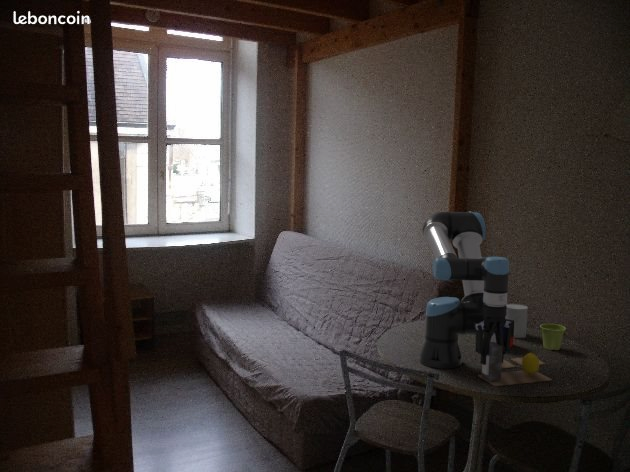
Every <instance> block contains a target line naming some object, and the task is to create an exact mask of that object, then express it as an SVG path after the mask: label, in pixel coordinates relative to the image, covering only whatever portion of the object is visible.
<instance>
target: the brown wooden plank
mask: <svg viewBox="0 0 630 472" xmlns="http://www.w3.org/2000/svg"><path fill="white" fill-rule="evenodd" d="M509 360H510V361H512V362H514V363H515V364H517V365H519V366H521V367H522V360H523V357H513V358H510V359H509ZM538 360H539V366H545V365H547V363H546V362H544V361H542V360H540V359H538ZM480 363H481V360H480ZM513 368H517V366H516V365H514V364H513V363H511V362H509V361H507V360H506V359H504V360H503V363H502V368H501V370H502V369H513Z"/></svg>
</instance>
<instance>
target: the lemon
mask: <svg viewBox="0 0 630 472" xmlns="http://www.w3.org/2000/svg"><path fill="white" fill-rule="evenodd" d="M522 358H523V360H522V366H521V367H522V370H524V372H526V373H527V374H528V375H529V376H531V375H532V374H535V373H536V372H539V368H540V365H539V360H540V359H539V358H538V356H536V354H535V353H533V352H529V353H526V354H525V355H524V356H523V357H522Z"/></svg>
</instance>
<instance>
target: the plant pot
mask: <svg viewBox="0 0 630 472" xmlns="http://www.w3.org/2000/svg"><path fill="white" fill-rule="evenodd" d="M539 328H540V330H541V333H542V334H541V336H542V344H543V345H542V347H543V348H544V349H545V350H548V351H553V350H554V351H559V350H561V346H562V341H563V336H564V333H565V331H566V330H567V328H566V326H563V325H561V324H555V323H542V324H540V325H539Z"/></svg>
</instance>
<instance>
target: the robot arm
mask: <svg viewBox="0 0 630 472" xmlns="http://www.w3.org/2000/svg"><path fill="white" fill-rule="evenodd" d="M421 233H422V237H423V239H424V240H425V241H426V242H427V243H428V244H429V246H430V247H429V248H431V252H432V255H433V257H434V260H433V263H432V273H433V277H434V279H436V280H440V281H462V287H463V292H464V293H463V294H464V297H462V299H461V301H460V299H459V298H457V297H455V296H454V297H453V296H452V297H450V296H441V297H436V298H432V299H430V300H429V301H428V302H427V303H426V308H425V332H424V333H425V335H424V342H423V344H422V346H421V349H420V350H421V351H420V353H419V362H420V363H421V364H422V365H424V366H427V367H430V368H436V369H455V368H459V367H461V366H462V364H463V356H462V353H461V349H460V345H459V335H460V336H461V335H463V336H464V335H465V336H467V335H468V336H475V353H477V354H479V355H480V361H481V362H480V364H481V365H482V367H481V374H482V373H484V374H485V375H489V355H487V354H488V350H489V345H490V341H491V337H492V336H493V335H495V336H496V343H497V344H499V345H501V346H503V350H502V363H503V360H505V359H504V358H505V357H504V356H505V355H507V352H508V353H509V352H510V350H511V349H510V347H511V346H510V339H511V329H512V327H513V323H511V322H509V321H506V318H505V317H506V314H507V306H506V304H508V294H509V293H508V290H509V276H510V260H509V259H508V258H507V257H502V256H488V257H487V256H482V252H481V247H480V246H481V244H482V243H483V241H484V240H485V238H486V235H487V234H486V233H487V232H486V223H485V220H484V217H483V216H482V214H481V213H480V212H475V211H474V212H473V211H465V212H464V211H439V212H437V213H434V214H431V215H430V216H429V217H428V218H427V219H426V220H425V221H424V223H423V226H422V231H421ZM454 248H455V249H457V254H456V251H455V249H454ZM503 327H504V332H503ZM483 335H484V338H483Z"/></svg>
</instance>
